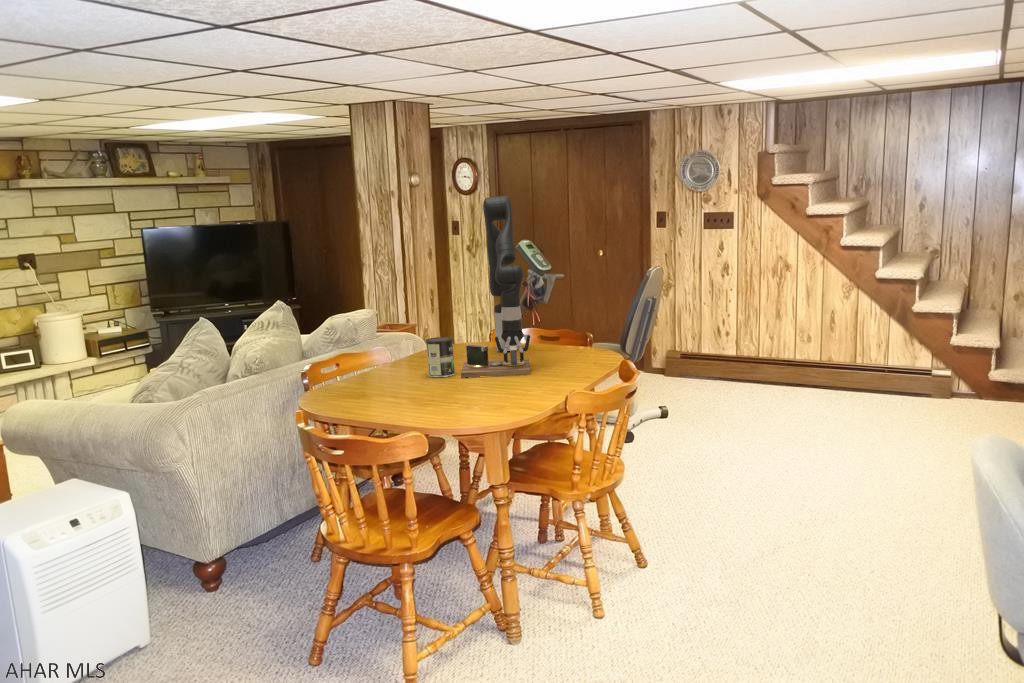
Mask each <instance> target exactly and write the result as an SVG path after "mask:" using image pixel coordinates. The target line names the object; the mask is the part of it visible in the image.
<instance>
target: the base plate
mask: <svg viewBox="0 0 1024 683" xmlns="http://www.w3.org/2000/svg"><path fill="white" fill-rule="evenodd" d="M517 360H519V361H520V358H517ZM508 361H511V358H508ZM523 361H524V365H522V366H515V367H508V366H504V362H505V361H504V359H493V360H492V359H490V360H489V359H488V364H489V365H488V367H485V368H478V369H472V368H468V364H467V361H464V362H463V365H462V367H461V370H460V371H461V372H460V378H461V379H465V378H464V377H478V378H481V377H480V376H496V377H502V376H501V375H515V376H526V375H525V374H531V365H530V364H531V362H530V358H524V360H523Z"/></svg>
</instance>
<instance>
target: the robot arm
mask: <svg viewBox="0 0 1024 683" xmlns="http://www.w3.org/2000/svg"><path fill="white" fill-rule="evenodd" d="M511 202H512V200H511V199H510V197H509V196H508V195H500V196H499V195H497V196H491V197H490V196H489V197H486V198H484V199H483V202H482V203H483V204H482V207H483V208H482V210H483V217H484V224H485V230H486V248H487V259H488V268H489V269H488V271H489V272H488V273H489V276H488V279H489V282H488V283H489V292H490V294H491V296H493V297H500V300H501V302H500V303H498V304H495V306H494V308H493V310H494V324H495V325H494V326H495V336H494V341H495V345H496V352H498V351H499V353H502V354H503V360H504V361H505V362H506V363H508V359H509V358H508V352H507V351H510V345H512V344H514V345H516V349H518V350H519V359H520V362H522V361H523V360H524V359H525V358H524V357H525V354H524V353H525V352H526V351H528V350H529V345H530V342H531V341H530V340H531V335H530V334H525V333H524V332H523V326H522V325H523V324H522V323H523V322H522V311H521V310H522V309H521V301H520V300H521V299H520V298H521V296H520V293H521V288H522V282H523V279H524V270H523V268H522V267H521V266H520V265H518V264H514V265H511V264H513V263H515V262H516V258H517V257H516V252H515V245H514V224H513V223H514V222H513V219H514V218H513V209H512V203H511ZM502 220H504V224H503V227H502V228H501V229H499V228H498V226H497V225H496V223H495V221H502ZM523 338H524V340H525V344H524V347H523V346H522V343H521V341H522V339H523Z"/></svg>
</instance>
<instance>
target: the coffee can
mask: <svg viewBox="0 0 1024 683" xmlns="http://www.w3.org/2000/svg"><path fill="white" fill-rule="evenodd" d="M453 340H454V339H453V337H450V336H437V337H431V338H427V339H425V344H426V347H425V348H426V357H427V370H428V377H429V376H430V377H429V378H432V377H444V378H449V377H448V376H450V377H453V376H455V375H456V372H455V362H454V361H455V360H454V345H453ZM454 374H455V375H454ZM452 375H453V376H452Z"/></svg>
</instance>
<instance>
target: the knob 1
mask: <svg viewBox="0 0 1024 683" xmlns="http://www.w3.org/2000/svg"><path fill="white" fill-rule="evenodd" d="M465 350H466V362H467V364H468V368H472V369H478V368H485V367H488V365H489V364H488V361H489V352H488V351H489V347H488V345H485V346H484V345H476V344H468V345H465Z"/></svg>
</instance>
